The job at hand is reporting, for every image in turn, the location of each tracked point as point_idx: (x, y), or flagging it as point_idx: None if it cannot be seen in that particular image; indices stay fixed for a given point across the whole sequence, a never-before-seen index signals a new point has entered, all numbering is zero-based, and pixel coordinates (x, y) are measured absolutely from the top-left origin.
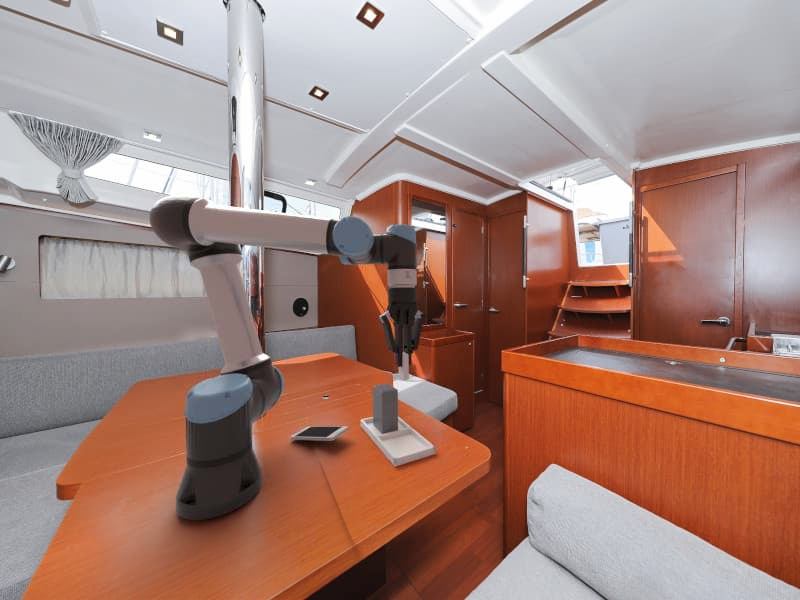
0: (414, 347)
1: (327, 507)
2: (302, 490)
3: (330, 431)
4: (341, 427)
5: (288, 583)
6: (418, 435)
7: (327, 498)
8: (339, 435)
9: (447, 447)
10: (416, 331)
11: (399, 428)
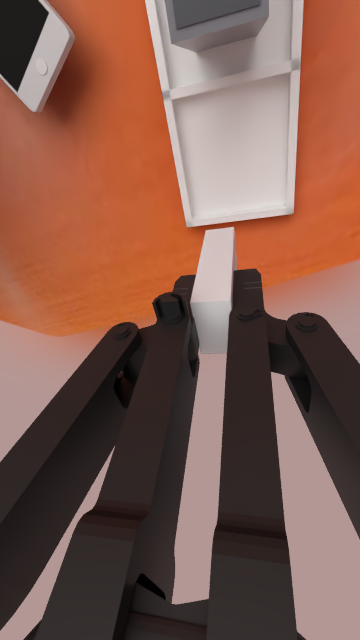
0: (288, 378)
1: (79, 273)
2: (34, 228)
3: (17, 37)
4: (47, 23)
5: (64, 335)
6: (288, 138)
7: (76, 257)
8: (52, 85)
9: (339, 190)
10: (346, 503)
11: (270, 14)
